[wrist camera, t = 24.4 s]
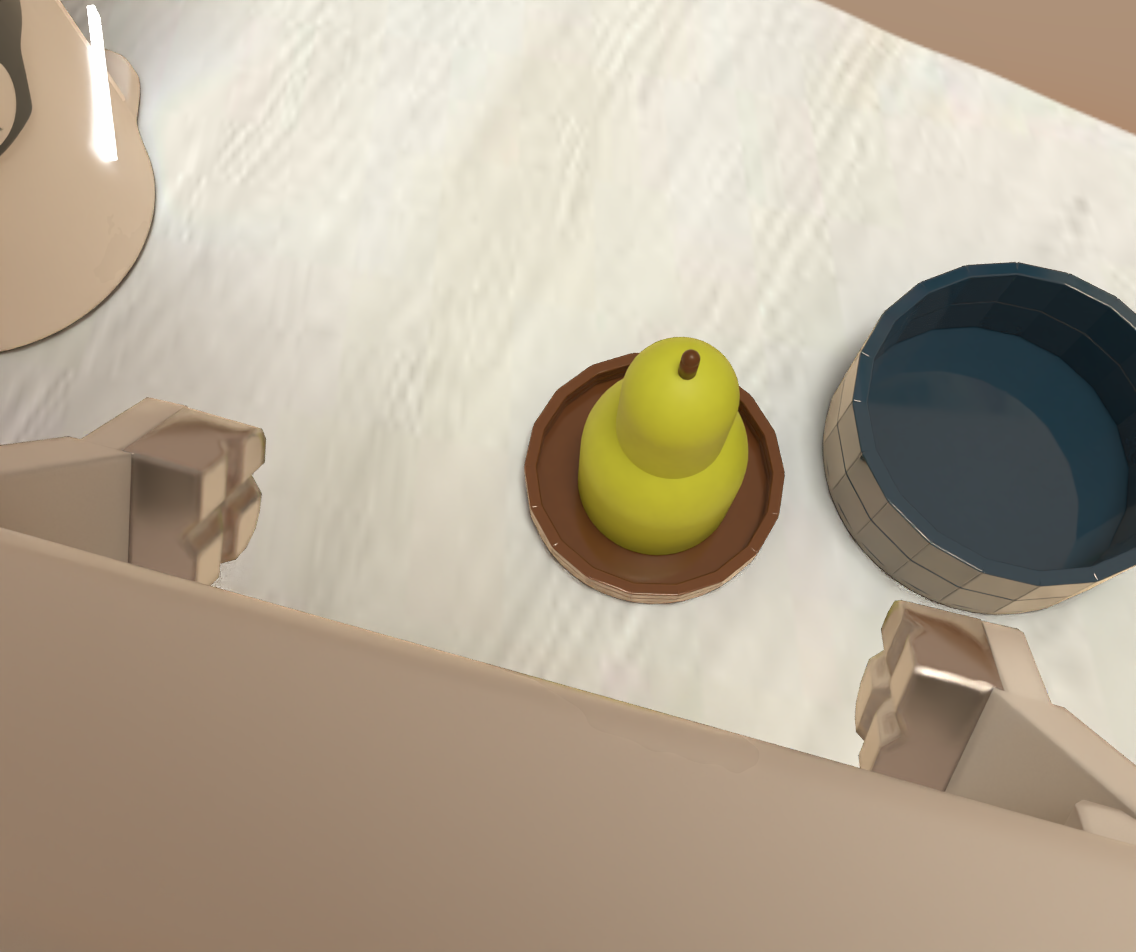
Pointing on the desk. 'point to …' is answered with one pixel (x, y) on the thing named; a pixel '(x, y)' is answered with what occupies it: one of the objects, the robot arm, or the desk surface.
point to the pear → (664, 449)
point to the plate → (604, 560)
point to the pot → (991, 439)
